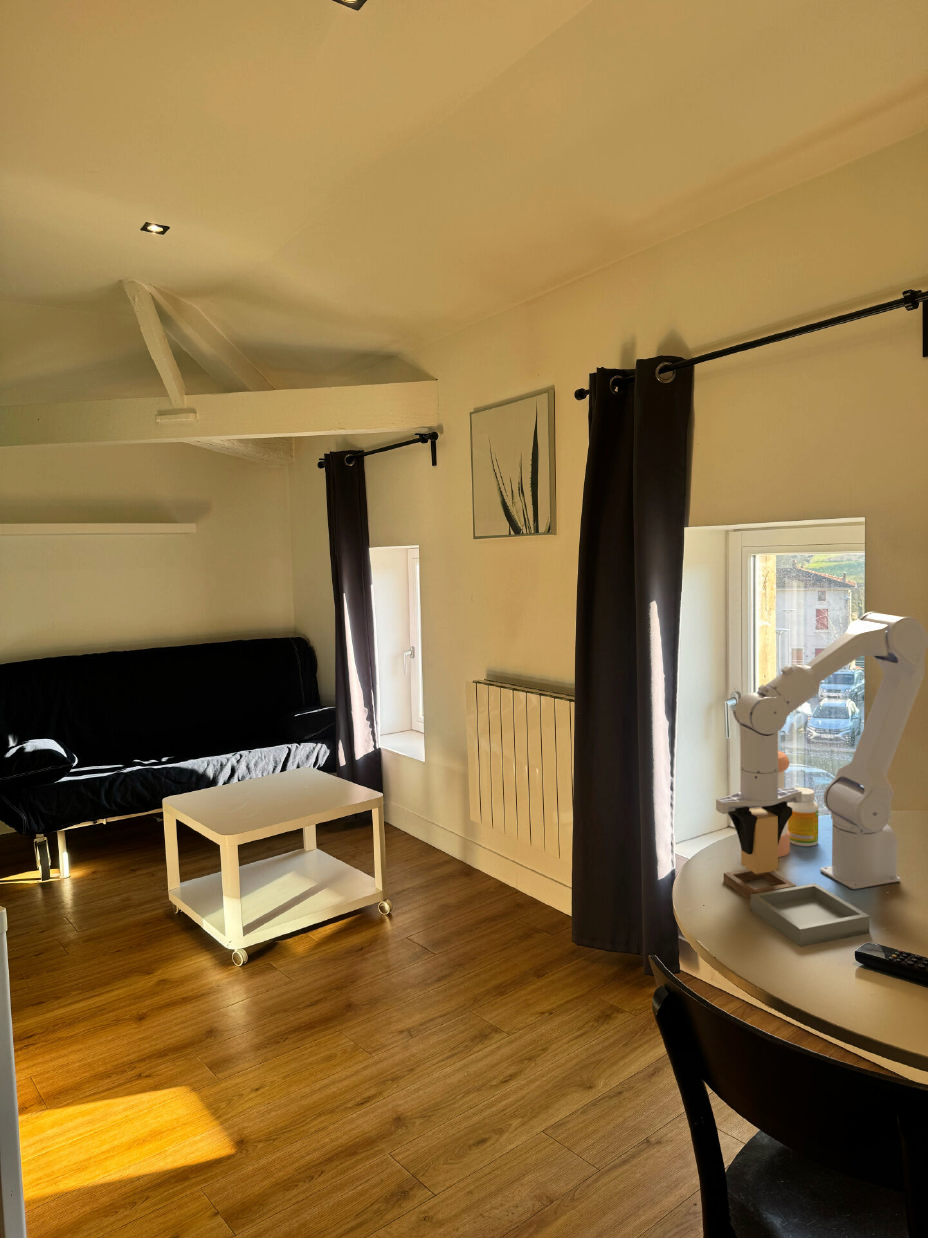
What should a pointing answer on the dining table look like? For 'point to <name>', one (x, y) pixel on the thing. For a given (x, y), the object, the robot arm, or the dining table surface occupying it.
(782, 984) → the dining table surface
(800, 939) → the tray
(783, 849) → the salt shaker
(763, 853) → the tan rectangular block
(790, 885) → the socket collar
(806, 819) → the supplement bottle
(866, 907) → the dining table surface
